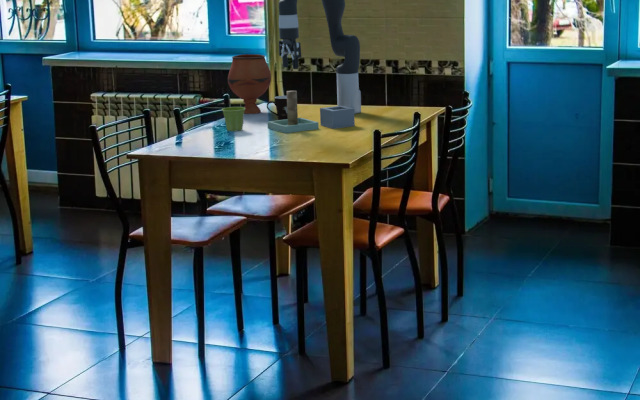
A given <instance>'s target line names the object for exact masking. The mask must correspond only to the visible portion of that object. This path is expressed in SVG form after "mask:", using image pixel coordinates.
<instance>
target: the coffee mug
mask: <svg viewBox="0 0 640 400" xmlns="http://www.w3.org/2000/svg"><path fill="white" fill-rule="evenodd" d="M271 103H272V104H274V106H275V110H276V112H275V111H272V109H270V108H269V104H271ZM266 109H267V110H268V111H269V112H270V113H272V114H274V115H276V116H277V120H285V119H288V115H287V95H278V96H275V97H274V101H273V100H271V101H268V102H267V103H266Z"/></svg>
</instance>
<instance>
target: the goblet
mask: <svg viewBox="0 0 640 400" xmlns="http://www.w3.org/2000/svg"><path fill="white" fill-rule="evenodd" d="M265 57H266V55H263V54H258V53H257V54H254V53H250V54H247V53H245V54H236V55H233V56H232V57H231V59H232V62H231V65H230V69H229V72H228V74H227V75H228V76H227V83H228V86H229V88H230V90H231V91H232V93H233V94H235V95H236V97H238V98H240V99H242V100H243V101H242V102H243V103H244V104H245V105H244V106H243V107H244V108H245V110H244V115H251V114H253V115H254V114H256V115H257V114H259V113H261V112H262V111H261V109H260V106H258V105H257V104H256V102H258V98H260V97H261V96H262V95H264V94H265V93H266V92H267V90H268V89H269V88H270V85H271V81H272V74H271V71H270V67H269V65H268V63H267V60H266V58H265Z"/></svg>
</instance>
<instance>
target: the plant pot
mask: <svg viewBox="0 0 640 400" xmlns="http://www.w3.org/2000/svg"><path fill="white" fill-rule="evenodd" d="M244 107H245V106H230V107H229V106H228V107H224V108H221V111H222V114H223V117H224V122H225V125H226V131H228V132H236V131H238V132H239V131H242V130H243V127H244V125H243V124H244V115H245V114H244V110H245V108H244Z"/></svg>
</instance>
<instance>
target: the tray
mask: <svg viewBox="0 0 640 400" xmlns="http://www.w3.org/2000/svg"><path fill="white" fill-rule="evenodd" d="M319 127H320V126H319V121H314V120H312V119H307V118H304V117H298V124H297V125H289V126H288V119H285V120H278V119H277V120H270V121H267V129H270V130H273V131H277V132H280V133H283V134H289V133H296V132H298V133H299V132H303V131H304V132H305V131H313V130H319V129H320V128H319Z"/></svg>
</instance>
